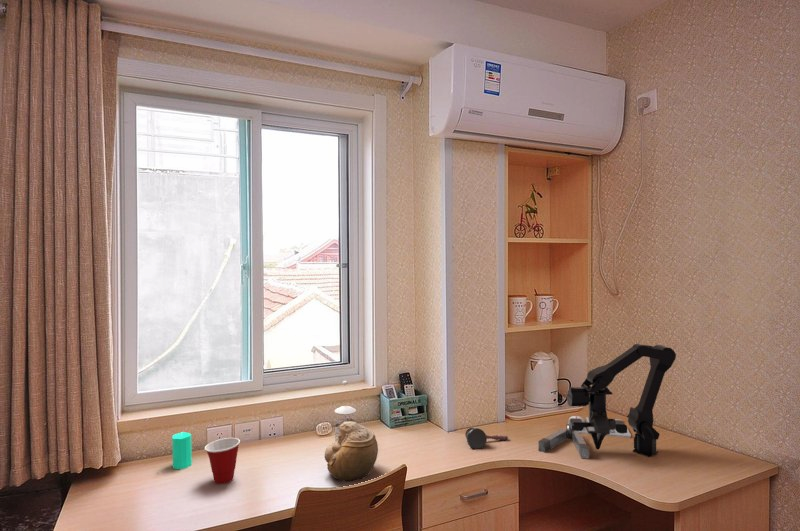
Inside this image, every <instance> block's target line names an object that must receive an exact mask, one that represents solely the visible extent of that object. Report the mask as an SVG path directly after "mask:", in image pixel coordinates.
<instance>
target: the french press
mask: <svg viewBox="0 0 800 531" xmlns="http://www.w3.org/2000/svg"><path fill="white" fill-rule="evenodd" d="M342 385H348V381H347V380H343V381H342ZM356 411H357V409H356V408H354V407H353V406H349V405H342V406H339V407H338V408H336V409H334V412H333V413H335V414H336V415H339V416H344V418H339V419H337V420H335V425H334V442H336V440H337V438H338V433H337V432H338V431H339V426H340V425H341V424H342V423H343V422H346V421H347V422H348V421H353V422H356V421H355V419H354V418H350V416H352V415H354V414H355V413H356ZM346 416H348V417H346Z"/></svg>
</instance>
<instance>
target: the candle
mask: <svg viewBox="0 0 800 531" xmlns="http://www.w3.org/2000/svg"><path fill="white" fill-rule="evenodd" d="M171 440H172V444H171V445H172V446H171V448H172V468H173V469H174V470H183V469H188V468H189V467H191V466H192V464H193V461H192V458H193V456H192V453H193V452H192V434H191V433H190V432H185V431H181V432H178V433H175V434H173V435H172V438H171Z"/></svg>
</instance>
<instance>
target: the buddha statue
mask: <svg viewBox="0 0 800 531" xmlns="http://www.w3.org/2000/svg"><path fill="white" fill-rule="evenodd" d="M338 428H339V431H338V432H337V435H338V437H336V438H337V440H336V439H335V440H336V442H335V441H334V442H332V443H331V444H330V445H328V446H327V447H326V448H325V451H324V460H325V461H326V463H327V471H328V473H329V474H330V475H331V476H332V477H333V478H334V479H336V480H338V481H343V482H356V481H361V480H364V479H365V478H367V476H369V474H370V473H371V472H372V471H373V468H374V466H375V464H376V461H377V458H378V455H379V454H378V453H379V446H378V445H379V444H378V441H377V437H376V435H375V433H374V432H373V431H372V429H370V428H367V427H366V426H365V425H362V424H360V423H358V422H356V421H355V422H353V421H348V422H347V421H346V422H343V423H342V424H341V425H340V426H338Z"/></svg>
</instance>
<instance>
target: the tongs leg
mask: <svg viewBox="0 0 800 531" xmlns="http://www.w3.org/2000/svg"><path fill="white" fill-rule="evenodd" d="M571 440H572V442H573V444H574V446H575V448H576V450H577V452H578V454H579V456H580V458H581V459H590V447H589V445H588V443H586V441H585V439H584V437H583V436H582V433H580V432H579V431H573V430H572V439H571Z"/></svg>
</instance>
